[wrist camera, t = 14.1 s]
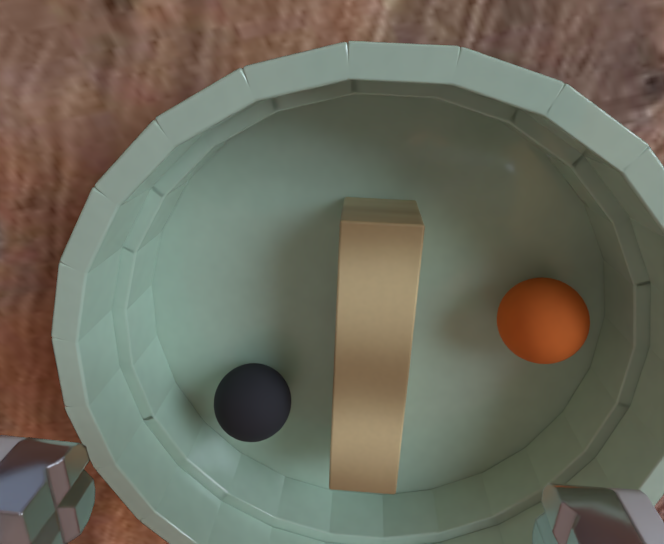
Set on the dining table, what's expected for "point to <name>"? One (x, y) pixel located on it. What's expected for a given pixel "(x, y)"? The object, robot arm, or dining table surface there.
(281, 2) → the dining table surface
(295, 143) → the bowl
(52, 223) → the dining table surface
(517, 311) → the bead
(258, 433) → the bead
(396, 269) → the stick
